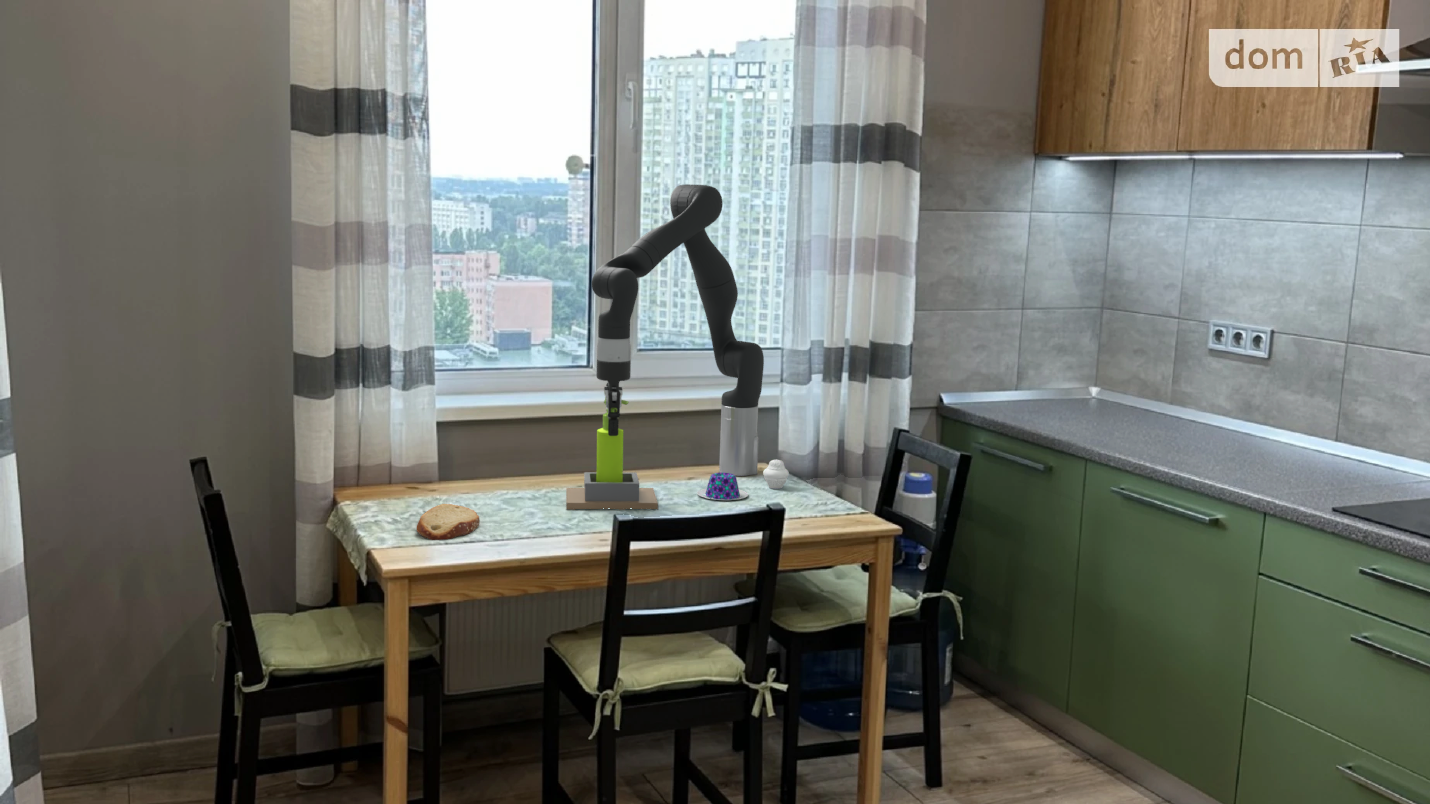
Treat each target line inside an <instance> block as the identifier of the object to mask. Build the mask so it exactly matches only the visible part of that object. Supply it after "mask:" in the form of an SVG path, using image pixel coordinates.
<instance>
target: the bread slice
mask: <svg viewBox="0 0 1430 804" xmlns="http://www.w3.org/2000/svg"><path fill="white" fill-rule="evenodd" d="M479 527H480V516H479V514H477V511H475V510H474V509H472V508H469V507H466V506H463V505H458V504H452V503H451V504H450V503H441V504H439V505H435V506H432V508H430V509H428V510H427V511H426V512H425V513H423V514H422V515H421V516H420V517H419V520H418V522H417V524H416V531H417V533H418V534H419V535H420V536H421V537H423V538H425V539H427V538H428V540H430V541H445V540H446V541H447V540H453V539H454V538H458V537H463V536H466V535H469V534H472V533H473V532H474V531H476V530H477V529H478V528H479Z"/></svg>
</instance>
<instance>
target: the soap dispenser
mask: <svg viewBox="0 0 1430 804" xmlns="http://www.w3.org/2000/svg"><path fill="white" fill-rule="evenodd" d="M608 403H609V402H608ZM603 404H604V405H605V404H606V400H605V399H604V401H603ZM628 404H629V401H628V400H625V399H621V405H628ZM611 412H614V409H611ZM607 415H608V409H607V411H606V412H605V413H603V414H602V427H601V428H598V429H597V430H596V471H595V472H596V482H623V472H624V471H623V469H624V429H622V428H619V427H618V435H617V436H609V435H608V417H607Z"/></svg>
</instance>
